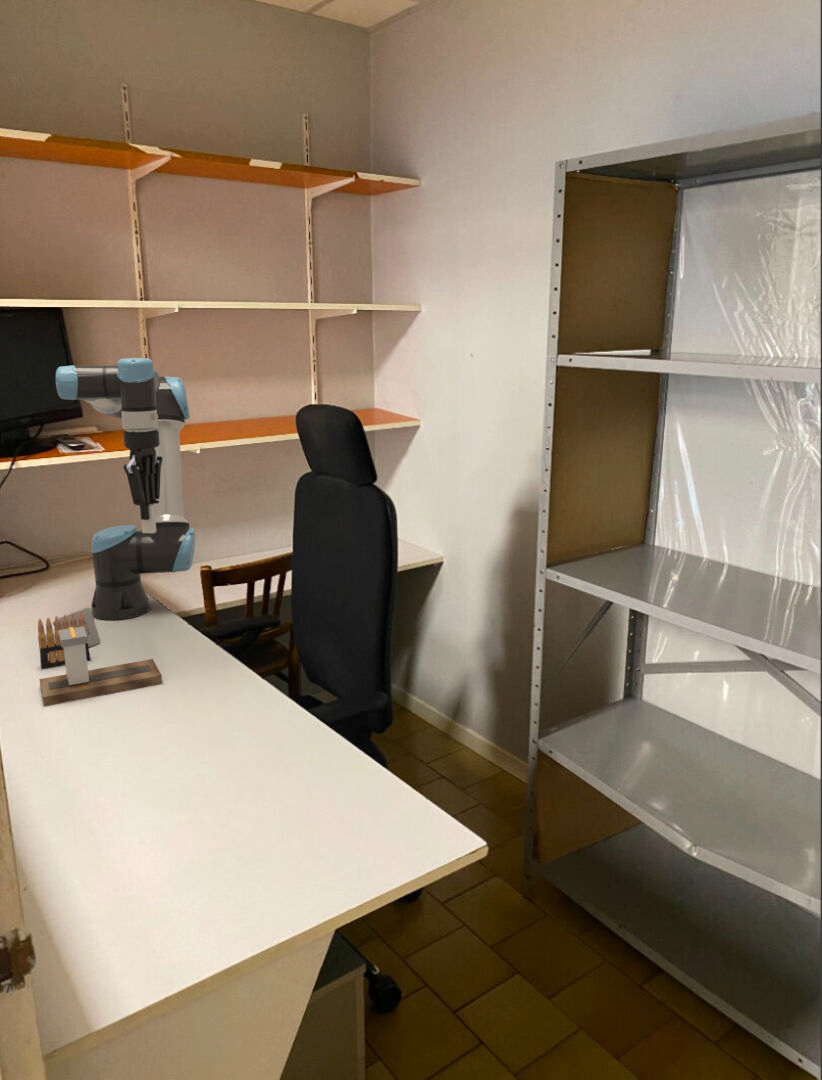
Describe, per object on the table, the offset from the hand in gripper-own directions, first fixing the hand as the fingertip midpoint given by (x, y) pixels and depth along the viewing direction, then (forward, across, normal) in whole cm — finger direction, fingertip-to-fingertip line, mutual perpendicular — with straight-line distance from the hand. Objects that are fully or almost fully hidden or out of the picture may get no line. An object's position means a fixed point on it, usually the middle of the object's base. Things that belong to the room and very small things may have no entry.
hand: (149, 532), depth 189 cm
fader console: (+30, -18, +4) cm, 36 cm away
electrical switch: (+31, 0, +22) cm, 38 cm away
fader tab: (+28, -21, +8) cm, 36 cm away
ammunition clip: (+31, -9, +19) cm, 37 cm away
